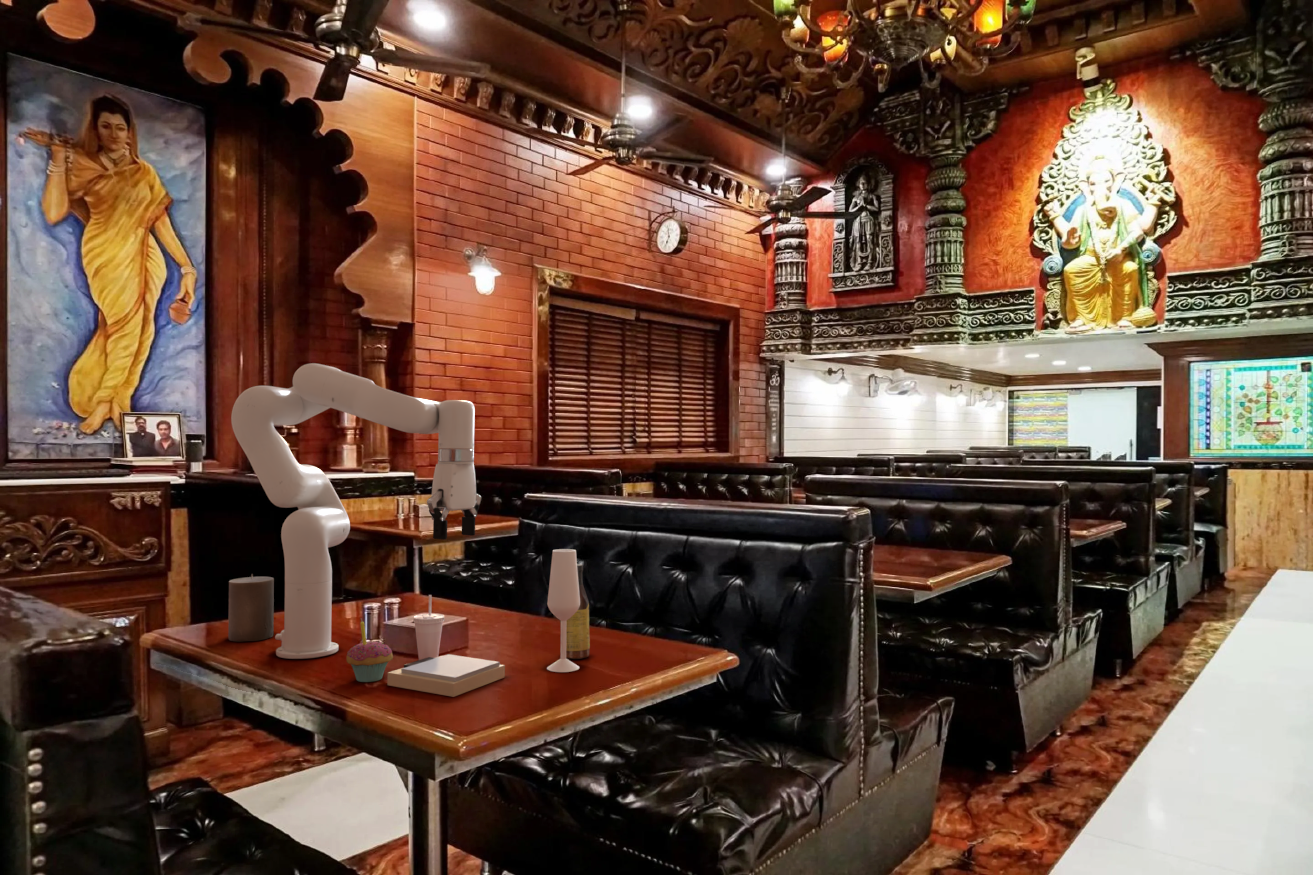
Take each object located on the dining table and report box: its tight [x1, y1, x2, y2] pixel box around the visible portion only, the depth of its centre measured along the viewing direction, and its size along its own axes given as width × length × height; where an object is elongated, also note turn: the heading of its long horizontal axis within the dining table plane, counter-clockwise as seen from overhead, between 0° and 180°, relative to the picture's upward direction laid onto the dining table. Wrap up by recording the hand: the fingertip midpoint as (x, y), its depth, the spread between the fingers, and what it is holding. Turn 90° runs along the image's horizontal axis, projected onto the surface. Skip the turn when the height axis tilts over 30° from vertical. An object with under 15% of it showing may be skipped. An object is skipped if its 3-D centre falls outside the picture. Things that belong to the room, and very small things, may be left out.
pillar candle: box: [227, 573, 275, 643], centre depth 196 cm, size 10×10×15 cm
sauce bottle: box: [559, 563, 591, 660], centre depth 180 cm, size 7×6×20 cm
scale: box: [386, 653, 506, 698], centre depth 159 cm, size 16×15×3 cm
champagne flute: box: [546, 548, 580, 673], centre depth 170 cm, size 7×7×24 cm
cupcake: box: [346, 617, 394, 683], centre depth 161 cm, size 9×8×12 cm
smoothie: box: [412, 594, 445, 660], centre depth 173 cm, size 6×6×14 cm
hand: (454, 536), depth 179 cm, fingers open, 9 cm apart
